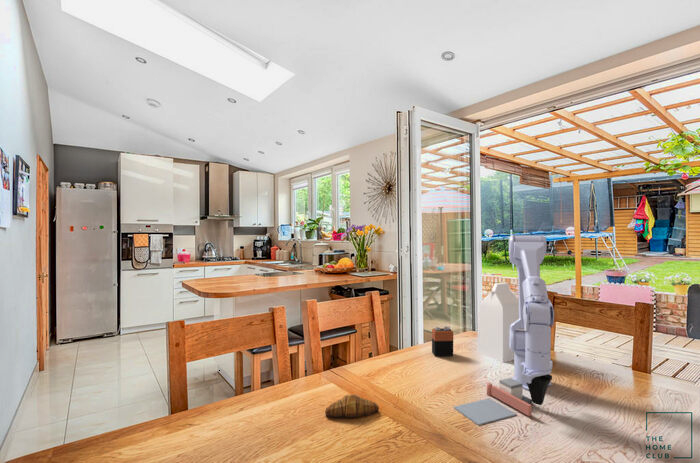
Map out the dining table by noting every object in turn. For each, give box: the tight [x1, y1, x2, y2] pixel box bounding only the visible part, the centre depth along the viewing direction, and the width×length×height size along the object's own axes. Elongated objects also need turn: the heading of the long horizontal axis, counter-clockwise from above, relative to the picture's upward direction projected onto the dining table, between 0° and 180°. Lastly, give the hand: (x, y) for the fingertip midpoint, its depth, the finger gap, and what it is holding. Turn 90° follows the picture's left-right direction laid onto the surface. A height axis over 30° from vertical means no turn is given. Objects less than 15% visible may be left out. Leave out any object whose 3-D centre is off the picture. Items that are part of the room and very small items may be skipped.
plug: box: [498, 377, 524, 399], centre depth 97 cm, size 4×4×5 cm
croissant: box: [324, 393, 380, 419], centre depth 90 cm, size 14×7×5 cm, turn 100°
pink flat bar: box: [486, 382, 533, 417], centre depth 95 cm, size 1×14×3 cm, turn 23°
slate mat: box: [453, 397, 518, 426], centre depth 91 cm, size 12×9×1 cm
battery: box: [431, 326, 454, 357], centre depth 132 cm, size 4×7×10 cm, turn 93°
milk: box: [476, 282, 525, 363], centre depth 133 cm, size 12×12×26 cm
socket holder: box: [521, 394, 533, 405], centre depth 98 cm, size 6×7×1 cm
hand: (537, 403), depth 92 cm, fingers closed
